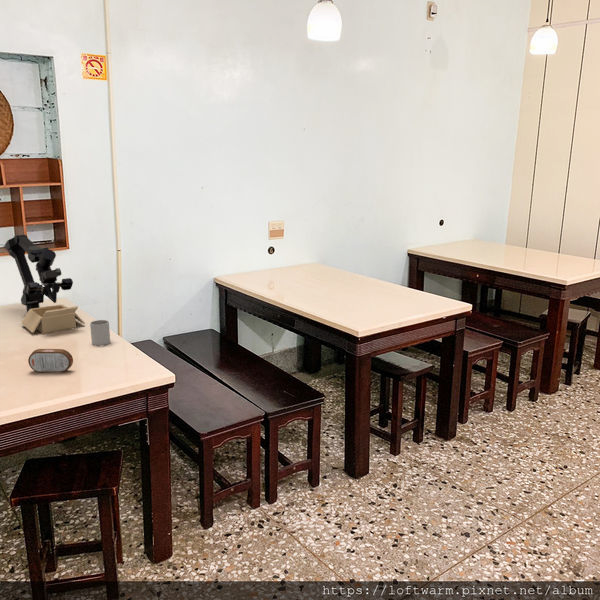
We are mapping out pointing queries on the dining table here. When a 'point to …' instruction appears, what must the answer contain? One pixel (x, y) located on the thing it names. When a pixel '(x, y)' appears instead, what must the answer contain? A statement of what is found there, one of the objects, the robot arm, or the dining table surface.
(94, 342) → the cup
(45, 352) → the tin
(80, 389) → the dining table surface
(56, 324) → the carton
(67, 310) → the flap
